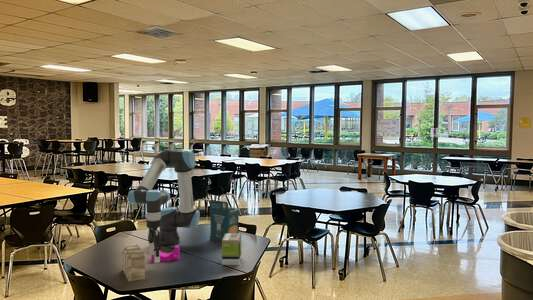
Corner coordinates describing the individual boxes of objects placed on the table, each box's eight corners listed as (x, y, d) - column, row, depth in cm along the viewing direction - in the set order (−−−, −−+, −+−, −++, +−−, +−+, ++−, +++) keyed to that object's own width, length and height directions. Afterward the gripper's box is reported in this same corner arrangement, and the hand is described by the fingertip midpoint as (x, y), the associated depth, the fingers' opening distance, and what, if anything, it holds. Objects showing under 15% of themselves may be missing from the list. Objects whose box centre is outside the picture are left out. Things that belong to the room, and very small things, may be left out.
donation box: (209, 239, 278) (209, 199, 277) (225, 234, 291) (225, 196, 290) (227, 243, 269) (227, 202, 268) (242, 238, 282) (242, 198, 281)
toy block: (151, 261, 231) (151, 249, 231) (153, 258, 238) (153, 245, 237) (177, 261, 233) (177, 248, 232) (179, 258, 239) (179, 245, 238)
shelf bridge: (122, 270, 217) (122, 245, 216) (138, 267, 221) (137, 243, 220) (128, 281, 200) (128, 255, 200) (144, 279, 204) (144, 252, 204)
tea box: (225, 257, 241) (225, 232, 240) (241, 257, 241) (241, 232, 240) (221, 265, 226) (221, 239, 225) (239, 265, 226) (239, 239, 225)
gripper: (142, 215, 223) (142, 252, 225) (151, 225, 201) (152, 267, 203) (155, 213, 227) (156, 250, 228) (166, 223, 205) (167, 264, 206)
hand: (154, 258), depth 216 cm, fingers open, 13 cm apart
